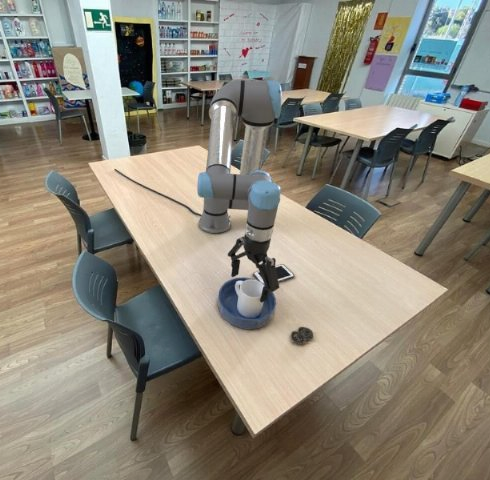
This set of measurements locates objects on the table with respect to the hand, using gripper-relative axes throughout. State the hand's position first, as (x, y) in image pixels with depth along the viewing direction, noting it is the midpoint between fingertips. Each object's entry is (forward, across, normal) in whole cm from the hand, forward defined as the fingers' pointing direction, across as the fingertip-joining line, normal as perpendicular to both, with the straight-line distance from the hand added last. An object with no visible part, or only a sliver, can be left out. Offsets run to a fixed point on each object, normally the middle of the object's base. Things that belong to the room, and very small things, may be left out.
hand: (248, 287), depth 93 cm
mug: (+9, 0, 0) cm, 9 cm away
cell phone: (+10, -5, +20) cm, 22 cm away
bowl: (+10, 0, 0) cm, 10 cm away
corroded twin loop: (+9, +19, +6) cm, 22 cm away
